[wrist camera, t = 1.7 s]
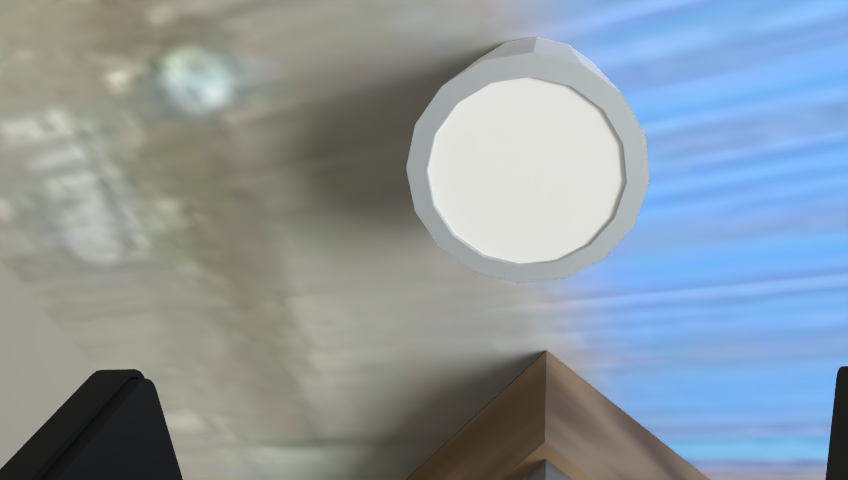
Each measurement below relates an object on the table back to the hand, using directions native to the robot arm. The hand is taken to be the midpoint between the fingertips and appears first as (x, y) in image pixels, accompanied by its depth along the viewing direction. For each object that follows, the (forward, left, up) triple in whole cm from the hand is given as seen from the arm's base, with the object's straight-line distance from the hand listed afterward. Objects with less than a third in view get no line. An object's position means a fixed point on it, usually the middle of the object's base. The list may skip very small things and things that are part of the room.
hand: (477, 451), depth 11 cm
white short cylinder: (0, 0, -20) cm, 19 cm away
